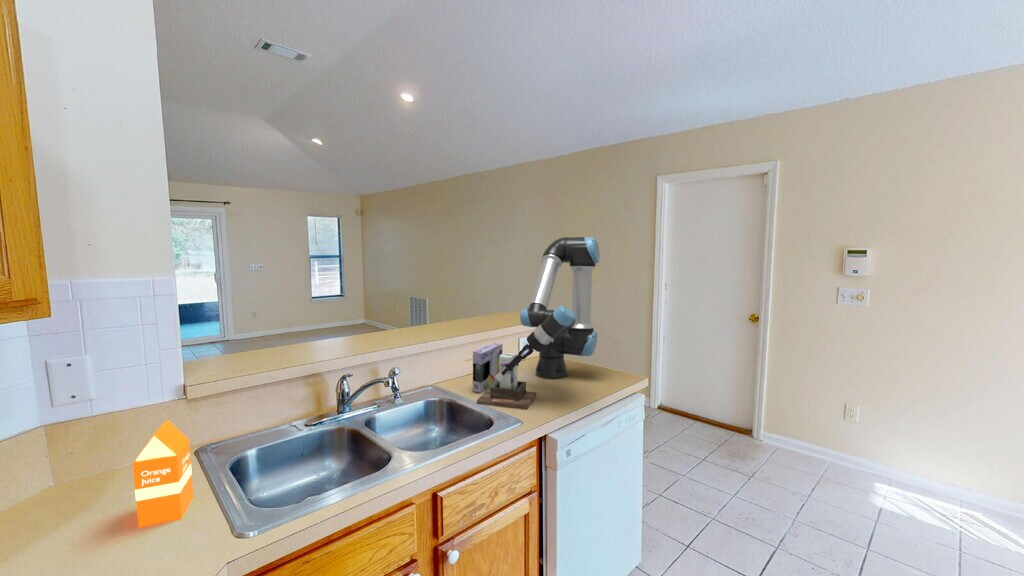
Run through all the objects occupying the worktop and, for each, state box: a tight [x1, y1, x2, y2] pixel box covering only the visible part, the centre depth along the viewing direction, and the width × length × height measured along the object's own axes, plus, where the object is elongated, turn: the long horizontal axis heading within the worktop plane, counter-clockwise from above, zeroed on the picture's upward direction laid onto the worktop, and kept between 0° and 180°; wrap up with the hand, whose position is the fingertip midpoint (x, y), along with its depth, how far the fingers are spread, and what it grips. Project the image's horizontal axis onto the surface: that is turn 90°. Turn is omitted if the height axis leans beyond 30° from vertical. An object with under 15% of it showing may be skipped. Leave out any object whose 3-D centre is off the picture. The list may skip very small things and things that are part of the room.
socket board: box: [476, 380, 537, 411], centre depth 163 cm, size 15×20×6 cm
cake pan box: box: [472, 341, 503, 394], centre depth 178 cm, size 19×5×18 cm, turn 152°
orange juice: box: [132, 419, 194, 529], centre depth 93 cm, size 8×9×20 cm
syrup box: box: [500, 352, 518, 390], centre depth 164 cm, size 6×6×14 cm
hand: (500, 376), depth 165 cm, fingers closed on syrup box, 6 cm apart
